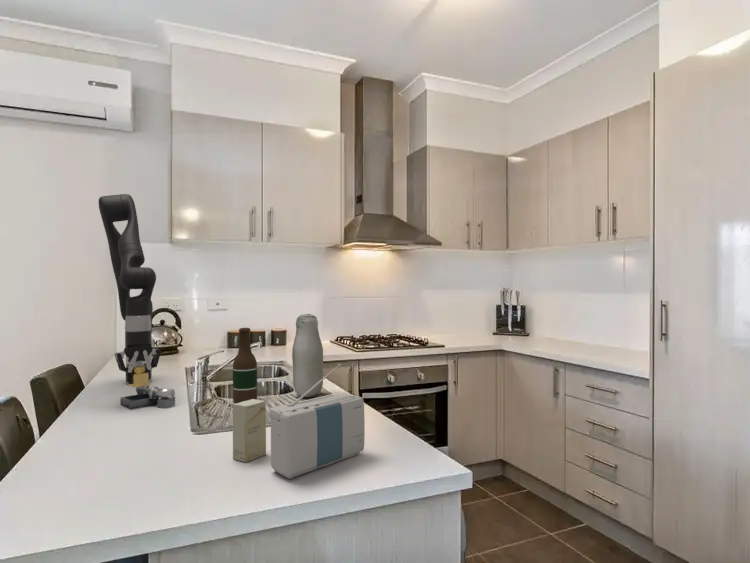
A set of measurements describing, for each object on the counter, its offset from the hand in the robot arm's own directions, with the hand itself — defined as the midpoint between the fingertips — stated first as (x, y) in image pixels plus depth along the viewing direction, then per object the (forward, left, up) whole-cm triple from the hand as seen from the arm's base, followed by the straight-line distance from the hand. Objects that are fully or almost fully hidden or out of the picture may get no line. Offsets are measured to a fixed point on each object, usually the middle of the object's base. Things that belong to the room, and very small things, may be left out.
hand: (138, 382), depth 154 cm
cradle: (0, 0, -7) cm, 7 cm away
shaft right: (+7, +4, -7) cm, 11 cm away
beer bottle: (+22, +25, -7) cm, 34 cm away
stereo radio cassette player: (+81, +7, -7) cm, 82 cm away
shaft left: (-7, +4, -7) cm, 11 cm away
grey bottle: (+32, +43, -7) cm, 54 cm away
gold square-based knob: (0, 0, -1) cm, 1 cm away
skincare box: (+67, -1, -7) cm, 67 cm away
